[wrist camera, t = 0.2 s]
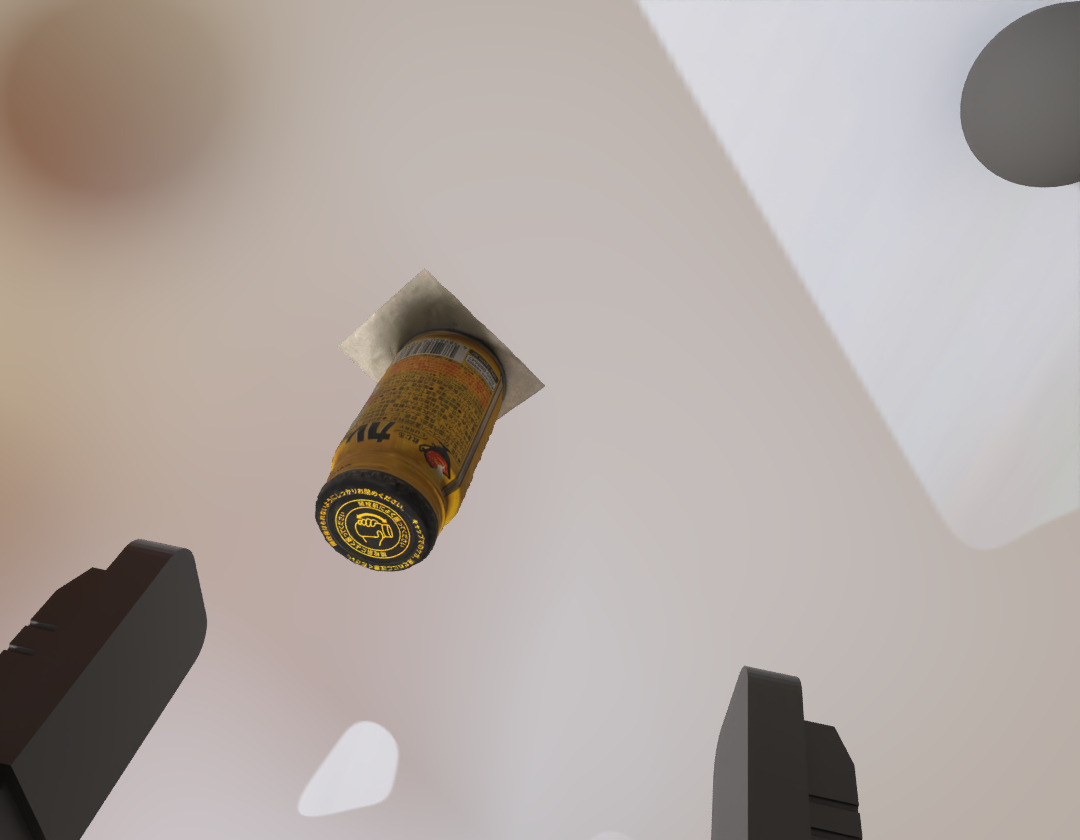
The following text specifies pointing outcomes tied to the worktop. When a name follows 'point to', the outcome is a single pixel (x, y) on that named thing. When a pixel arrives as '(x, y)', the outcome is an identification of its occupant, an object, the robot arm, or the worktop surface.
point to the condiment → (416, 425)
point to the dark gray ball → (1028, 99)
